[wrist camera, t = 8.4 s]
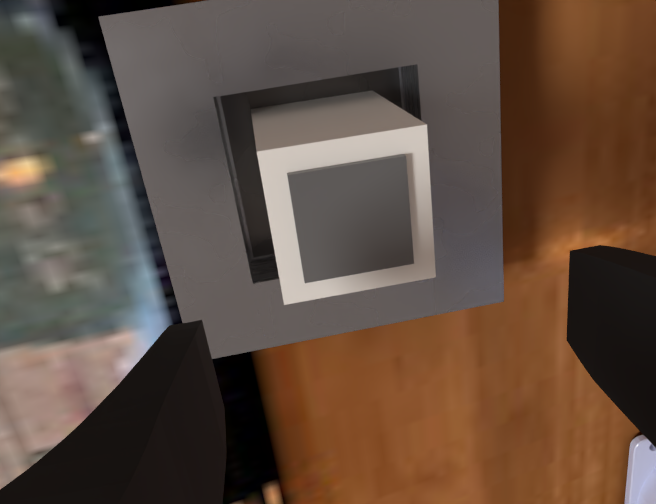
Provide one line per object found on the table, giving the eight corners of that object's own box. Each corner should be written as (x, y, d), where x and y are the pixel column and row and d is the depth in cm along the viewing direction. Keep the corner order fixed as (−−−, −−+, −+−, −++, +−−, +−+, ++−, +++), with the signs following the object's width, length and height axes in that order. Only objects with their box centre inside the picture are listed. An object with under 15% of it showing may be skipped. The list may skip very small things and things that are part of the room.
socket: (465, -37, 19) (497, -43, 16) (477, 272, 23) (503, 301, 21) (116, 15, 18) (98, 17, 15) (197, 325, 22) (193, 362, 20)
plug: (372, 90, 19) (429, 126, 13) (383, 205, 21) (438, 280, 15) (250, 109, 19) (256, 153, 13) (271, 224, 20) (284, 308, 15)
